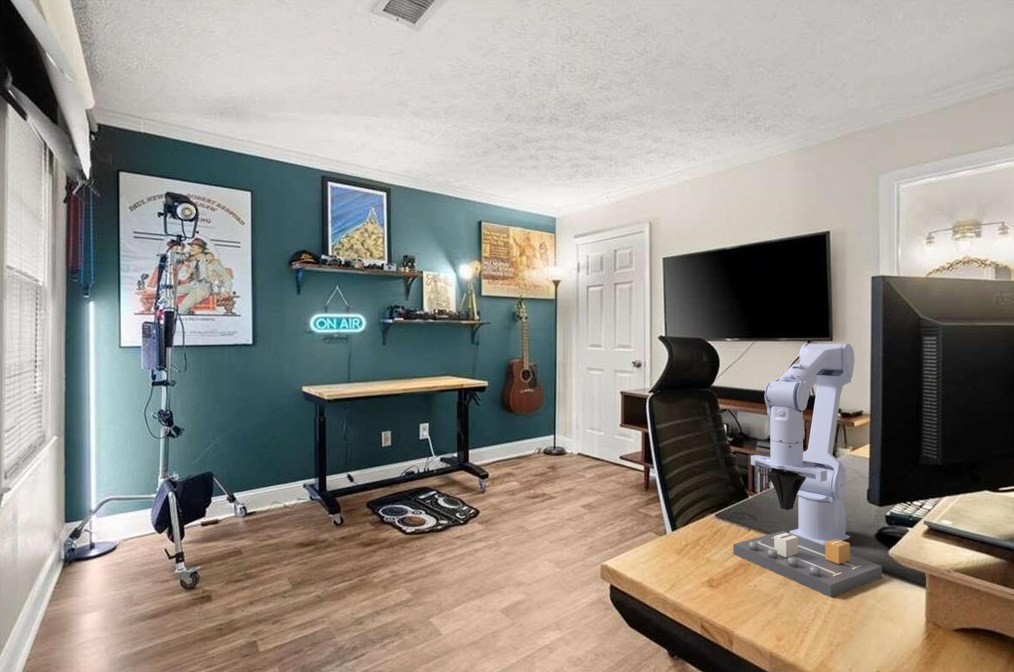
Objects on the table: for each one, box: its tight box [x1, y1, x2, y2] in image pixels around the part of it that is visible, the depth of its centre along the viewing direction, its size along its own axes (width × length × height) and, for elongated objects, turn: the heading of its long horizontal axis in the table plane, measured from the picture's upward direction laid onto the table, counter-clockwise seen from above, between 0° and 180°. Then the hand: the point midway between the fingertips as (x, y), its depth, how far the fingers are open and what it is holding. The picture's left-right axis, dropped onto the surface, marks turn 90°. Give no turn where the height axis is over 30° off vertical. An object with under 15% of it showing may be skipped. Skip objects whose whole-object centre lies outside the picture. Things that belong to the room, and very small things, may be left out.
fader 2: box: [824, 539, 851, 564], centre depth 92 cm, size 4×2×3 cm, turn 117°
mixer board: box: [732, 530, 883, 598], centre depth 95 cm, size 16×19×3 cm
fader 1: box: [774, 532, 798, 557], centre depth 95 cm, size 4×2×3 cm, turn 117°
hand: (786, 508), depth 98 cm, fingers closed
